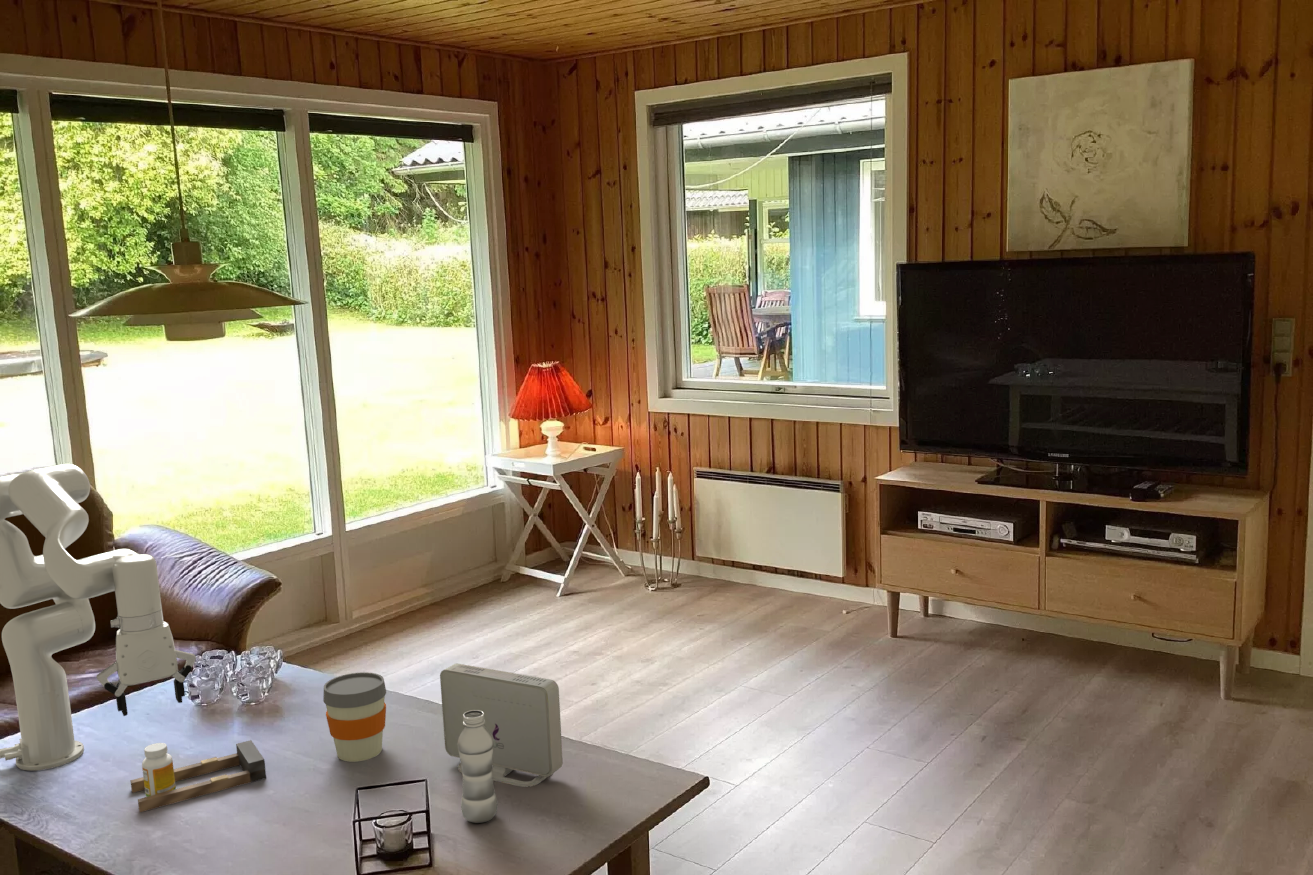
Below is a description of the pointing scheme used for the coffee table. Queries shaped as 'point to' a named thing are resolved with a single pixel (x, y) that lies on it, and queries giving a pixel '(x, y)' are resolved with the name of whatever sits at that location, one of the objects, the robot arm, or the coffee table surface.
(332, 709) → the reusable coffee cup
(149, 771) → the supplement bottle
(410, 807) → the coffee table surface
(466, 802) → the plastic bottle
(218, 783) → the guide channel
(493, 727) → the network device
